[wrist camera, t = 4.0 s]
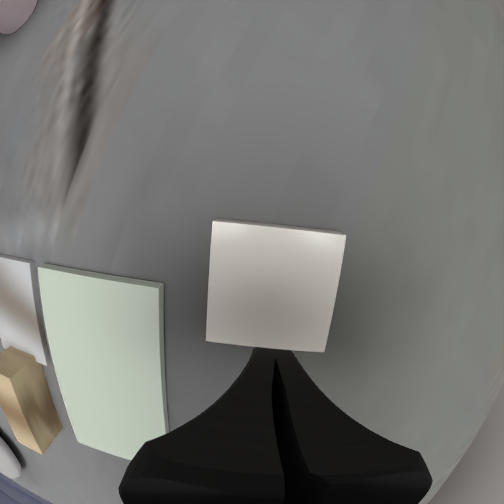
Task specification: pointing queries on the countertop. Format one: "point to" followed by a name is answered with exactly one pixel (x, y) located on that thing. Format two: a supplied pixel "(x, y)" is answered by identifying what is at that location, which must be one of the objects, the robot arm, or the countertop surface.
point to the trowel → (24, 357)
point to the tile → (272, 285)
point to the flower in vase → (8, 461)
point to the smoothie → (15, 14)
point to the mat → (107, 355)
